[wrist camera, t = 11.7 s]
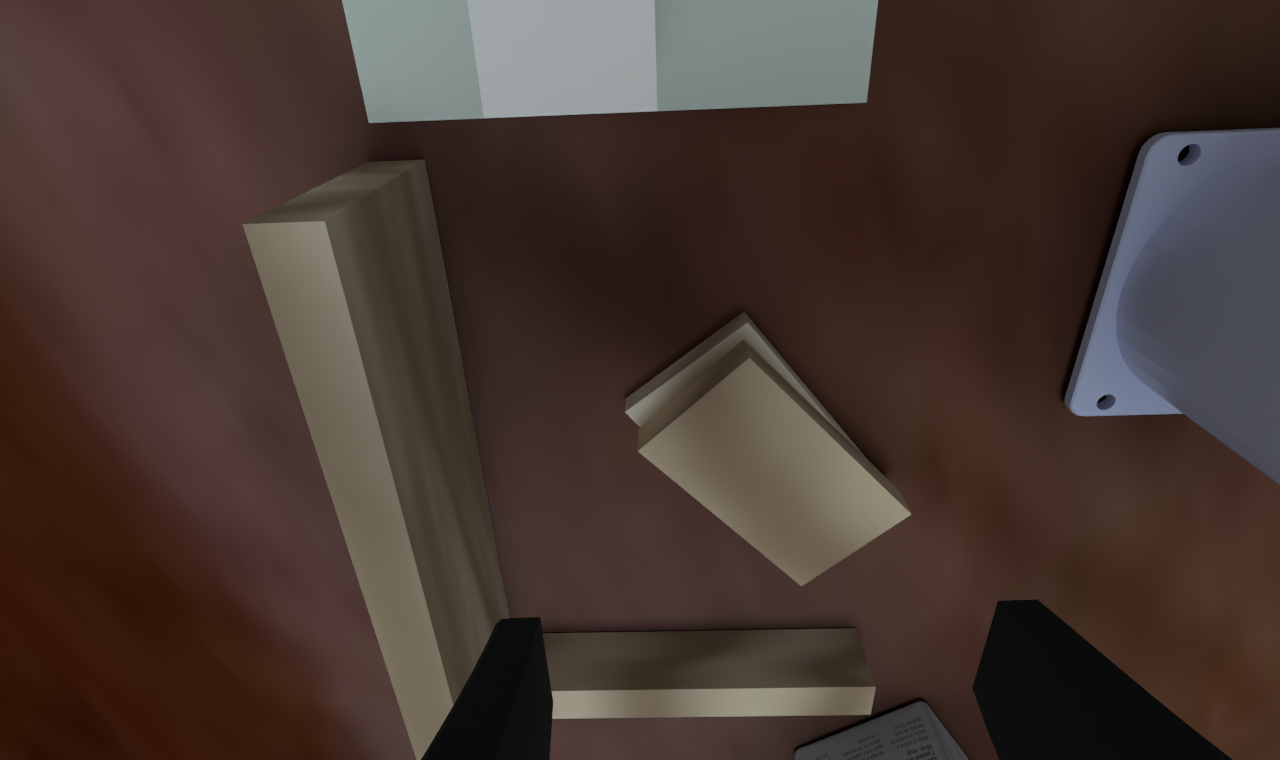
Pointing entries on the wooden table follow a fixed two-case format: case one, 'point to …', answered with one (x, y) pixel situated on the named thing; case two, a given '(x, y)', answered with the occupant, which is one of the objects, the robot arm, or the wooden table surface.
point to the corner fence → (469, 482)
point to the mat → (685, 55)
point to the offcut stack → (763, 453)
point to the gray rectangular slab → (564, 56)
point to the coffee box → (889, 739)
